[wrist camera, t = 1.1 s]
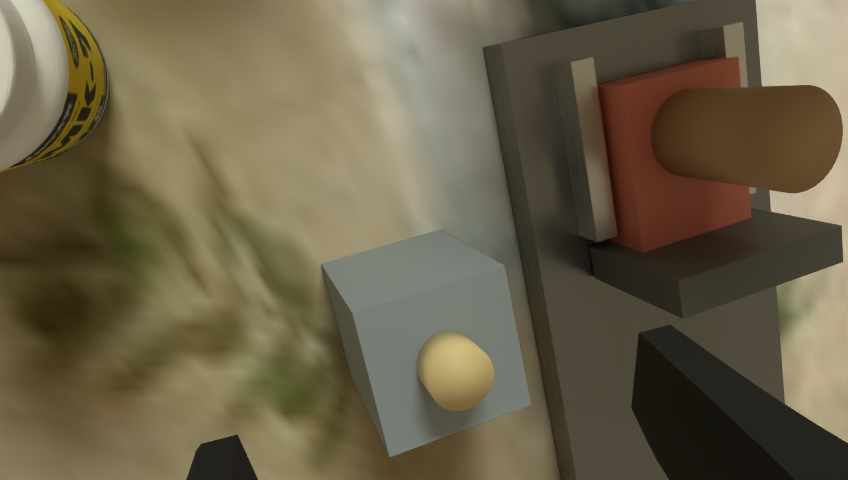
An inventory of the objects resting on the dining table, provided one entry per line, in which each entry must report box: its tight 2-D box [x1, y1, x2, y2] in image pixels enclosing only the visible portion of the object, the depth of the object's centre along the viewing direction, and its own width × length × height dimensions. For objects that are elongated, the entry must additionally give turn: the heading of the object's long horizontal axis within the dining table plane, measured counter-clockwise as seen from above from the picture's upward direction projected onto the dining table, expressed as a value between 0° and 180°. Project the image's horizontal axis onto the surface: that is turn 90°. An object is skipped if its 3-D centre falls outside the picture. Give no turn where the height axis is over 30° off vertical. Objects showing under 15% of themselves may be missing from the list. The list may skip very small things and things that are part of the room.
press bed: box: [483, 0, 785, 480], centre depth 25 cm, size 20×10×3 cm, turn 15°
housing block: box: [321, 230, 531, 457], centre depth 20 cm, size 4×4×7 cm
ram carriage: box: [590, 57, 843, 319], centre depth 20 cm, size 7×6×6 cm
